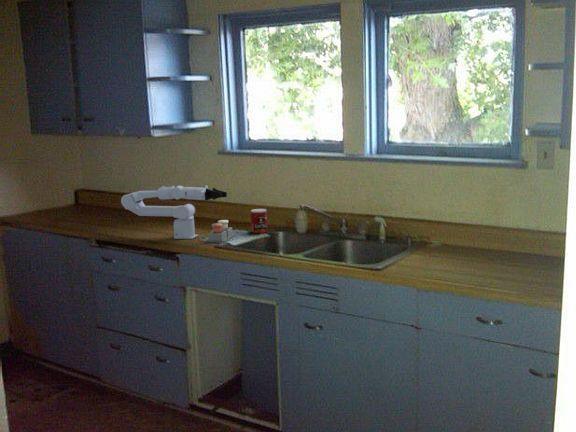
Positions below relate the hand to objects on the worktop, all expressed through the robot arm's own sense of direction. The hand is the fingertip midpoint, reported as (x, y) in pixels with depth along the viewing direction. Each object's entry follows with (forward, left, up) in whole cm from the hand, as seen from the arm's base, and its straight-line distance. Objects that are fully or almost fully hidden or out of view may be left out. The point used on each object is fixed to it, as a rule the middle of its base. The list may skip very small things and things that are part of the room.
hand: (223, 194), depth 314 cm
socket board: (-2, -2, -21) cm, 21 cm away
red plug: (-2, -6, -17) cm, 18 cm away
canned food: (+12, +14, -21) cm, 28 cm away
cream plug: (-2, +3, -17) cm, 18 cm away
